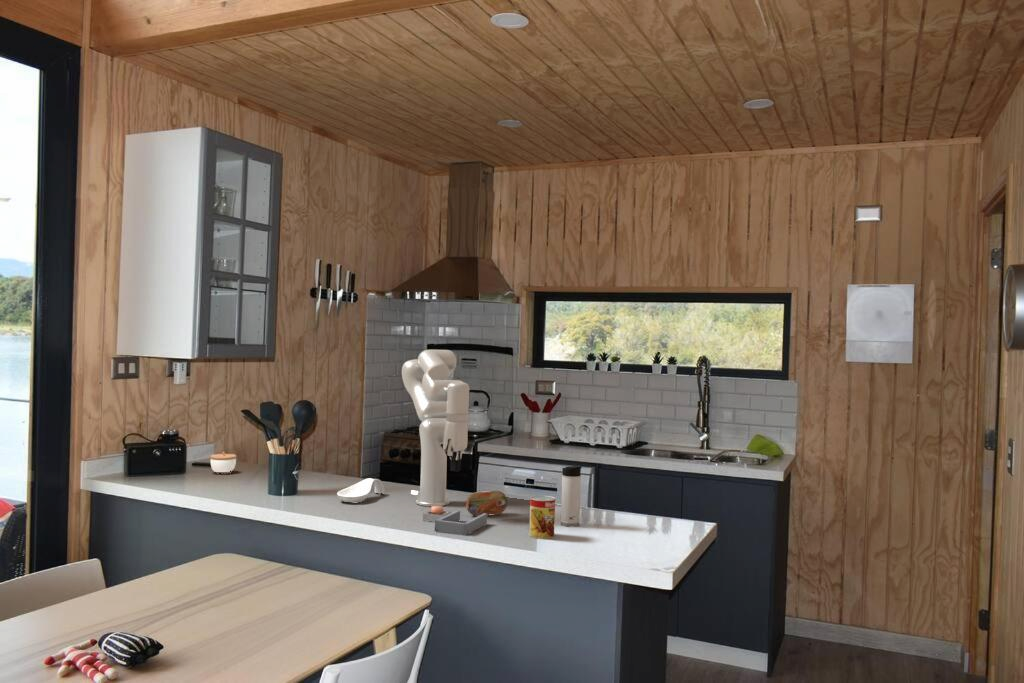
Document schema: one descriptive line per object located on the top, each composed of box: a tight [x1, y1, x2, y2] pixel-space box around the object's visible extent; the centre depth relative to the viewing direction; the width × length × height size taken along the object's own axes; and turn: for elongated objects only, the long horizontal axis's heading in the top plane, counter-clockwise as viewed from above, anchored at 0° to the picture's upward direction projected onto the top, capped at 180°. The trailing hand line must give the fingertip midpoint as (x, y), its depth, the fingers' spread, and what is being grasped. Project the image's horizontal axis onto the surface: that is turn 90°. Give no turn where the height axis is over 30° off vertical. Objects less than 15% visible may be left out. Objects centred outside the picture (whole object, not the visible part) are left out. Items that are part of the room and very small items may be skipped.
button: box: [430, 506, 444, 515], centre depth 274 cm, size 4×4×2 cm
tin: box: [465, 490, 508, 517], centre depth 284 cm, size 15×3×8 cm, turn 117°
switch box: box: [422, 509, 452, 523], centre depth 274 cm, size 7×7×2 cm
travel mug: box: [560, 465, 583, 527], centre depth 272 cm, size 6×7×20 cm
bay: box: [434, 510, 488, 536], centre depth 264 cm, size 11×17×4 cm, turn 160°
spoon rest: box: [336, 477, 386, 503], centre depth 306 cm, size 24×12×7 cm, turn 156°
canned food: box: [529, 495, 556, 540], centre depth 256 cm, size 8×8×12 cm
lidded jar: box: [209, 451, 237, 473], centre depth 352 cm, size 11×11×9 cm
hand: (455, 470), depth 280 cm, fingers closed
